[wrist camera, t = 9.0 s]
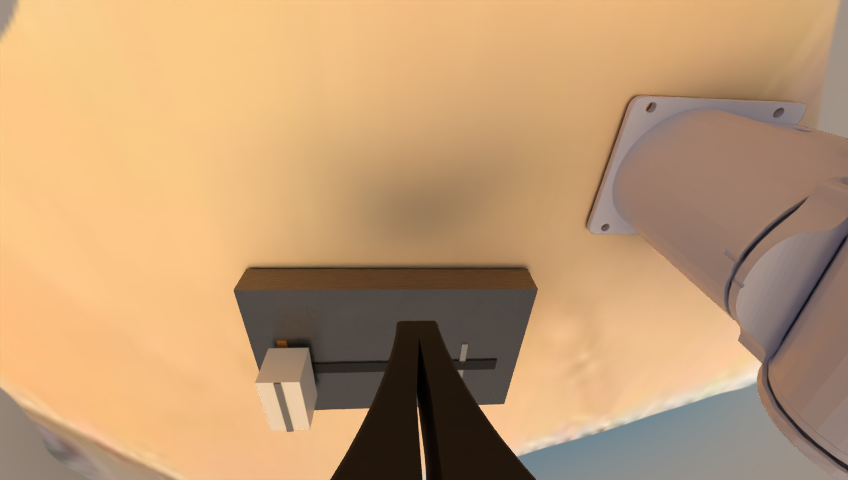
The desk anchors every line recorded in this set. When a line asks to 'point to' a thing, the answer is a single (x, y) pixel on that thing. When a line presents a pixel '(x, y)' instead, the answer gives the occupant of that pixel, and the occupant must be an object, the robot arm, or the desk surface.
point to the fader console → (388, 323)
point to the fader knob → (287, 388)
